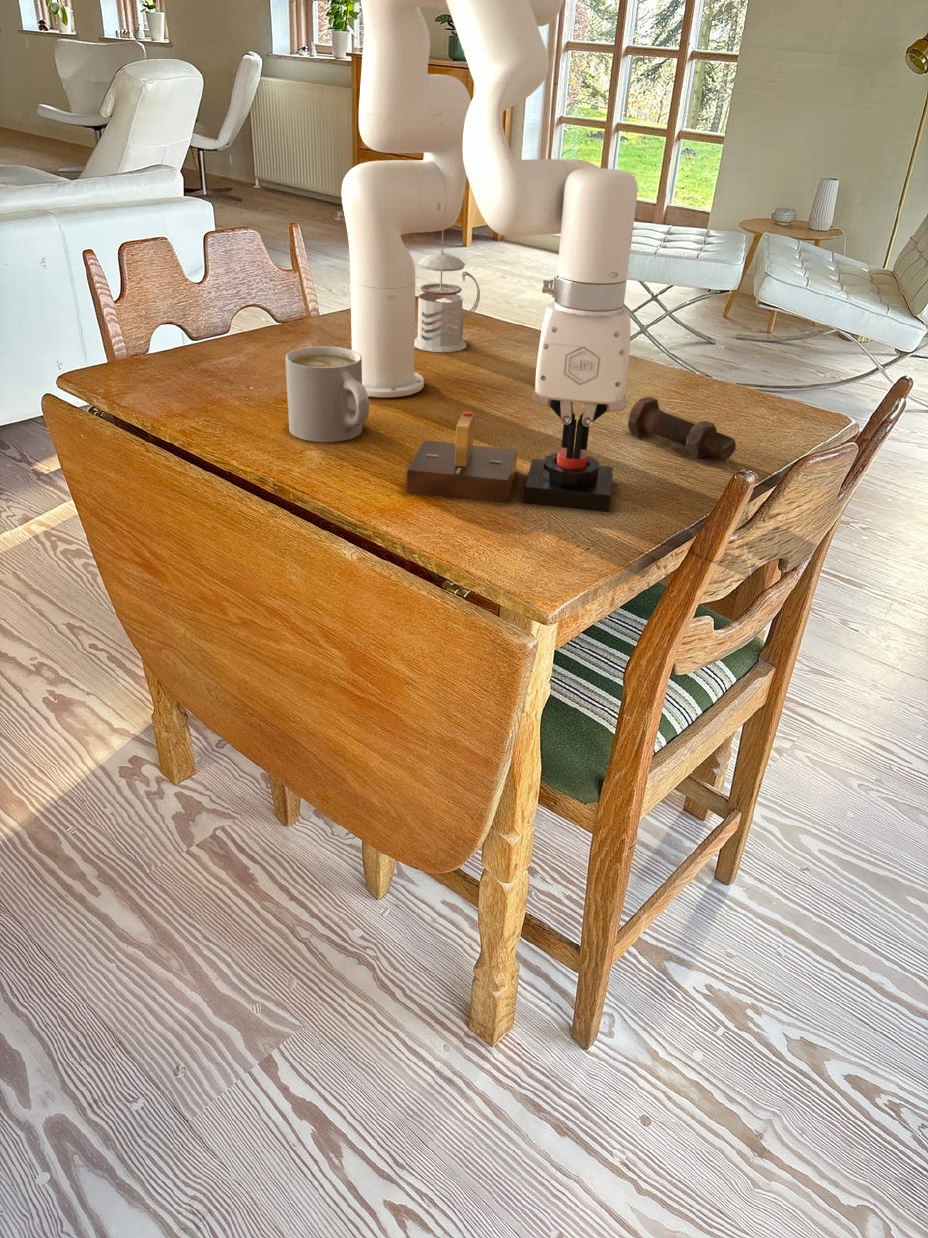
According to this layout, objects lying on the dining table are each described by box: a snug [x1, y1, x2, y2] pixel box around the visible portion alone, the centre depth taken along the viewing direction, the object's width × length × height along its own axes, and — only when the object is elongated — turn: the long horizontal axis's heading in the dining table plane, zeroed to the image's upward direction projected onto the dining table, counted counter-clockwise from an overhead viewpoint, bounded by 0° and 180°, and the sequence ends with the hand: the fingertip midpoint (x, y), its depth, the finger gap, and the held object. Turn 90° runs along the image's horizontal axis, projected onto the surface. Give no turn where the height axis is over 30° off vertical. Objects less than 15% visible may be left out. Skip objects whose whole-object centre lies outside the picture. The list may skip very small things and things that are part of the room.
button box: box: [523, 452, 614, 513], centre depth 115 cm, size 10×9×4 cm
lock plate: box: [406, 440, 518, 504], centre depth 117 cm, size 12×10×3 cm
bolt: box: [627, 396, 737, 462], centre depth 129 cm, size 6×5×15 cm
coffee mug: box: [285, 345, 370, 443], centre depth 127 cm, size 13×10×10 cm
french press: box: [415, 230, 481, 353], centre depth 163 cm, size 10×12×25 cm
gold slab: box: [455, 410, 475, 467], centre depth 114 cm, size 5×1×5 cm, turn 171°
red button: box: [556, 448, 589, 469], centre depth 114 cm, size 4×4×2 cm
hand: (573, 453), depth 113 cm, fingers closed
